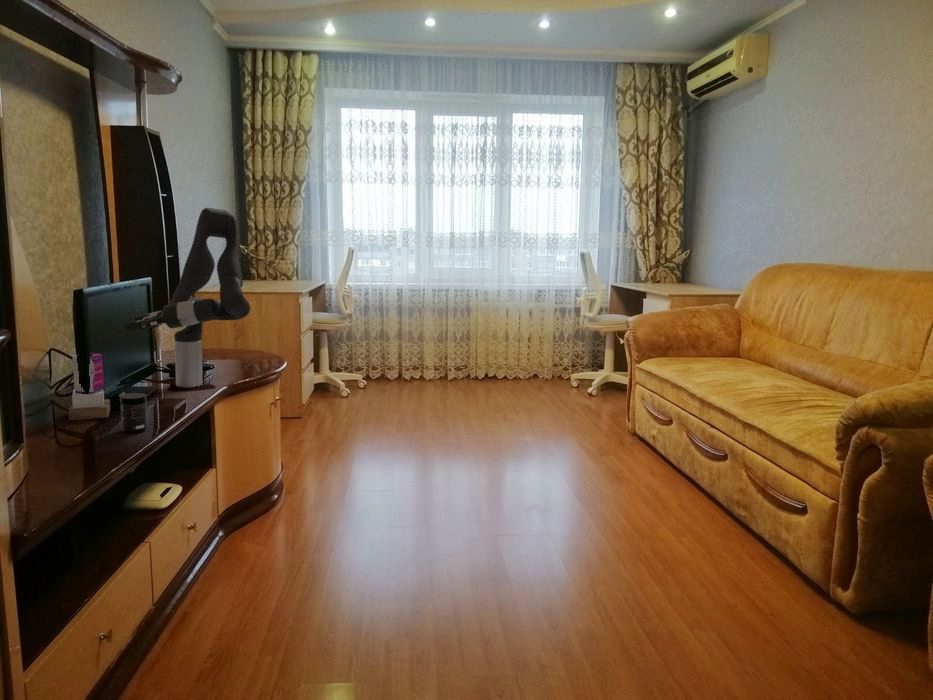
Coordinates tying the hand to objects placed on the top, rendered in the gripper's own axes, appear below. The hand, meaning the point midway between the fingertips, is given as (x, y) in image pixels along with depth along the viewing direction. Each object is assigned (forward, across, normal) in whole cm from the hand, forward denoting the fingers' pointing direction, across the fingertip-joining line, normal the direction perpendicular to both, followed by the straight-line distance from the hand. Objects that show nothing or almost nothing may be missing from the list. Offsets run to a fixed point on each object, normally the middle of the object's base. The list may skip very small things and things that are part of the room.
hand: (130, 323), depth 196 cm
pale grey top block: (+17, +7, +21) cm, 28 cm away
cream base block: (+17, +7, +25) cm, 31 cm away
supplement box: (+15, +6, +17) cm, 24 cm away
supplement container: (-1, +22, +27) cm, 35 cm away
